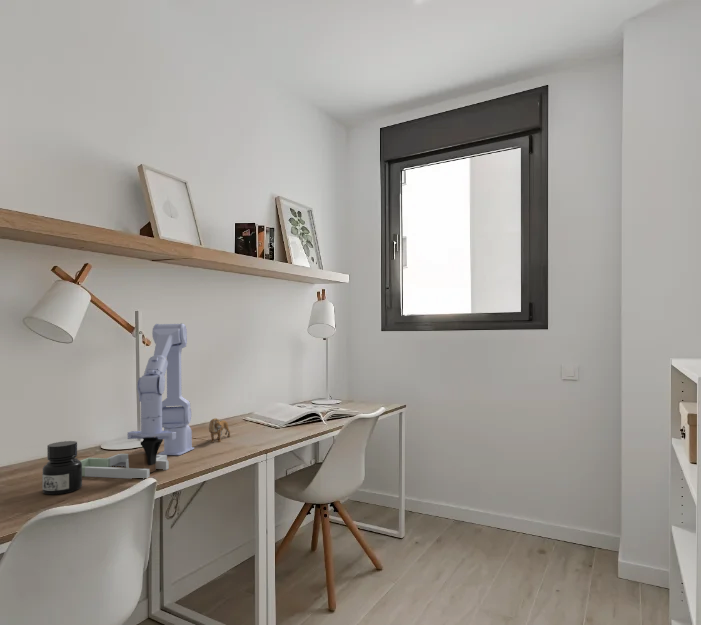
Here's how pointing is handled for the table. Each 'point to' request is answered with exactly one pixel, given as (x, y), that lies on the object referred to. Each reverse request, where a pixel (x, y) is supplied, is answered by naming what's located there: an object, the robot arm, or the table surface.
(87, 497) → the table surface
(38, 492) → the table surface
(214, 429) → the lion figurine
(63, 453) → the ink bottle
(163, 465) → the trap box
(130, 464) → the walnut block
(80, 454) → the table surface
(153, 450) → the robot arm
